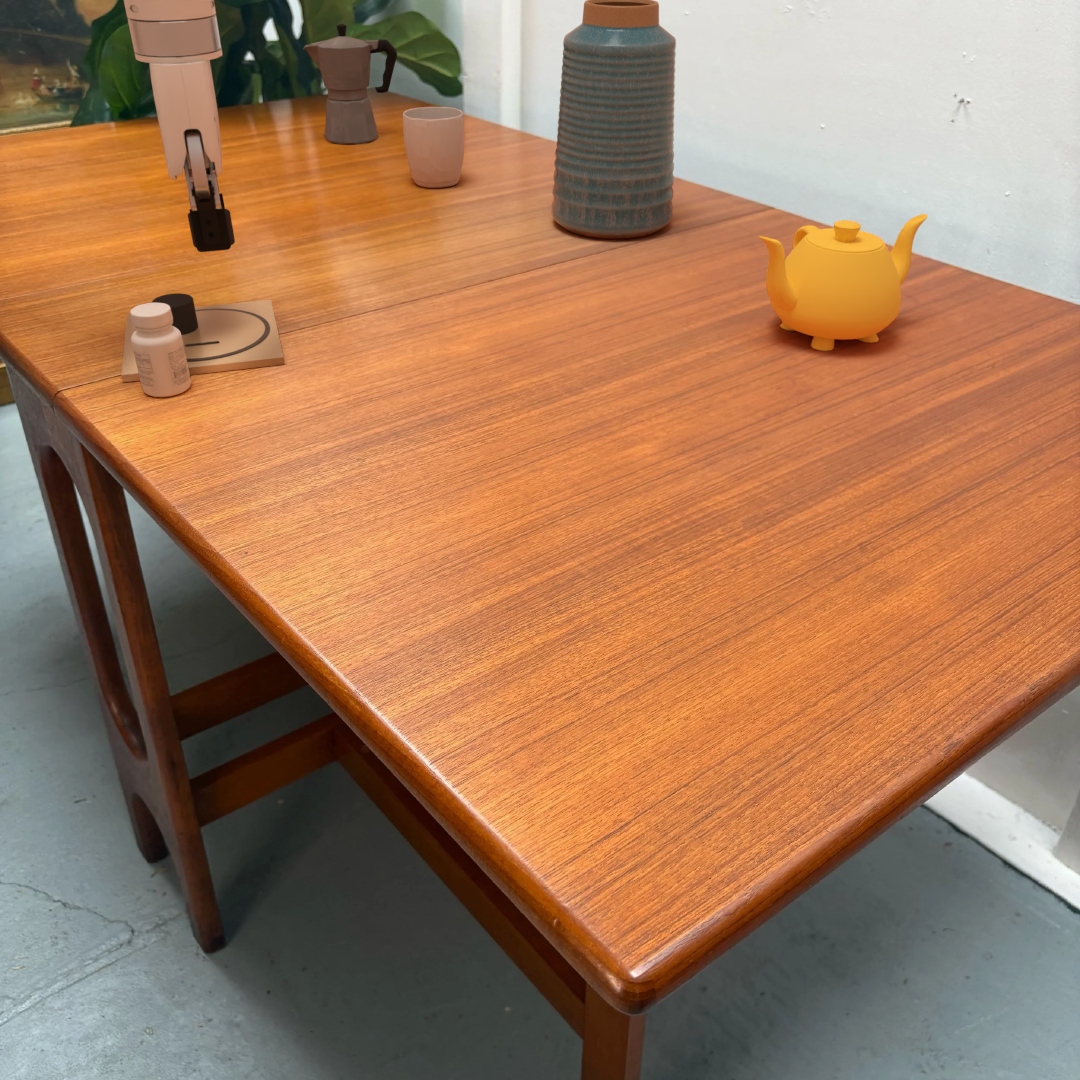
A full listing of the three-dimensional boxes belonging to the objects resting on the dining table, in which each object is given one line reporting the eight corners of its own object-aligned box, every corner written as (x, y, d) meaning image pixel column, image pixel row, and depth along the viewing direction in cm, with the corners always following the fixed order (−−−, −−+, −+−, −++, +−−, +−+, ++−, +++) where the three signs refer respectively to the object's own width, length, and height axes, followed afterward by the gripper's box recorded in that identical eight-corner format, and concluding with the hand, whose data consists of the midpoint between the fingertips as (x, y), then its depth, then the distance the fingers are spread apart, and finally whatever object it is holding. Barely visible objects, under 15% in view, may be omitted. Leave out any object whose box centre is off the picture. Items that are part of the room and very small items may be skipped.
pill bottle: (191, 375, 97) (175, 297, 93) (192, 395, 94) (176, 315, 90) (142, 381, 96) (124, 302, 92) (142, 401, 93) (123, 320, 88)
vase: (545, 239, 132) (547, 8, 117) (557, 203, 146) (560, -8, 131) (671, 244, 131) (689, 11, 116) (672, 208, 144) (688, -5, 129)
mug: (475, 186, 153) (473, 115, 147) (419, 193, 149) (414, 121, 144) (443, 167, 162) (440, 99, 156) (390, 173, 159) (385, 104, 153)
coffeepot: (310, 145, 173) (297, 28, 163) (316, 132, 181) (303, 20, 171) (401, 144, 174) (394, 27, 164) (403, 131, 182) (395, 19, 172)
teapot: (857, 293, 117) (876, 191, 110) (946, 341, 105) (973, 230, 99) (705, 317, 110) (716, 210, 104) (782, 371, 99) (800, 255, 92)
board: (122, 382, 96) (120, 372, 95) (128, 320, 109) (126, 310, 108) (284, 364, 100) (283, 354, 99) (272, 306, 112) (270, 296, 112)
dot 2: (193, 251, 99) (187, 220, 97) (193, 239, 102) (187, 209, 101) (236, 247, 100) (230, 217, 98) (234, 235, 103) (228, 205, 101)
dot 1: (157, 337, 103) (151, 309, 101) (158, 323, 106) (152, 295, 104) (198, 333, 104) (193, 305, 102) (198, 319, 107) (192, 291, 105)
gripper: (135, 28, 97) (174, 221, 107) (128, 56, 83) (174, 274, 94) (216, 24, 98) (247, 215, 109) (223, 51, 85) (257, 266, 95)
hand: (213, 240), depth 101 cm, fingers closed on dot 2, 4 cm apart
